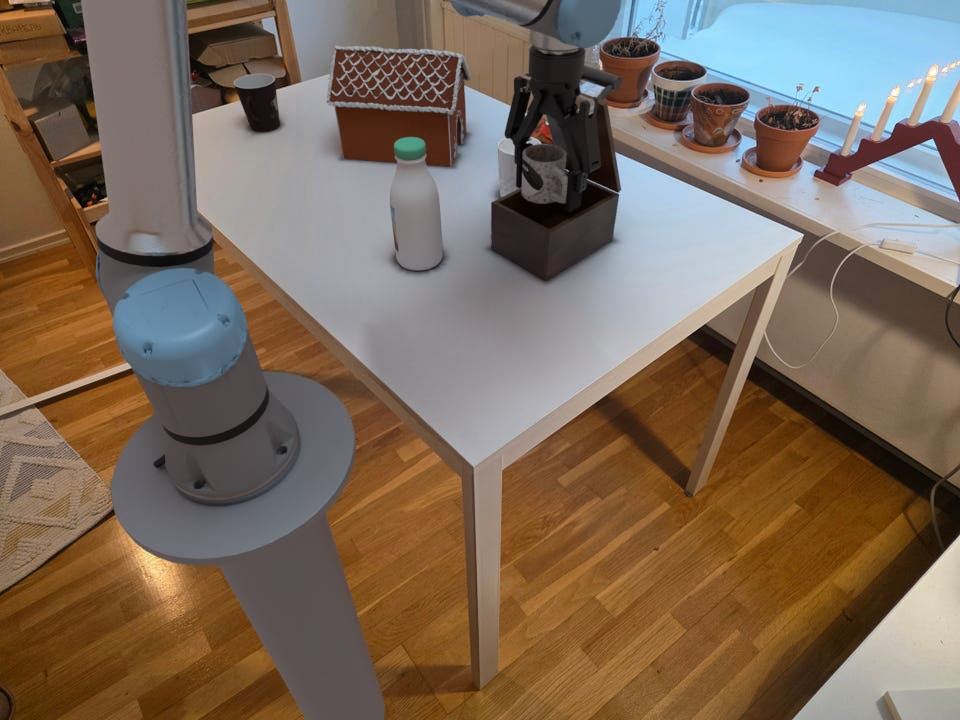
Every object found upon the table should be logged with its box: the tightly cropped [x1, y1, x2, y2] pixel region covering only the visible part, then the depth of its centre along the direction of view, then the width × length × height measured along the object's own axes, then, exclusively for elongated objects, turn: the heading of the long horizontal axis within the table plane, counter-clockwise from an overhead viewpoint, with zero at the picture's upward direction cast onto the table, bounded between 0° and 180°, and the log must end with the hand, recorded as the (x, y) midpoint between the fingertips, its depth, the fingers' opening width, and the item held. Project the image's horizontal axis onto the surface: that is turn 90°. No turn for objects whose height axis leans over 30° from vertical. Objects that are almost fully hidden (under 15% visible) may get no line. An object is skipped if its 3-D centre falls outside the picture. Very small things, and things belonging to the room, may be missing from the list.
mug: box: [521, 144, 568, 204], centre depth 100 cm, size 10×7×7 cm
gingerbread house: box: [325, 44, 472, 168], centre depth 131 cm, size 18×26×20 cm
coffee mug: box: [233, 73, 281, 133], centre depth 141 cm, size 12×9×10 cm
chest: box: [490, 169, 620, 282], centre depth 106 cm, size 17×13×9 cm
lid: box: [545, 64, 623, 194], centre depth 101 cm, size 17×13×7 cm
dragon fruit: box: [531, 117, 554, 145], centre depth 131 cm, size 8×8×12 cm
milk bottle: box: [389, 137, 444, 271], centre depth 100 cm, size 8×8×20 cm
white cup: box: [496, 137, 541, 198], centre depth 118 cm, size 8×8×10 cm
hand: (547, 196), depth 102 cm, fingers closed on mug, 10 cm apart
